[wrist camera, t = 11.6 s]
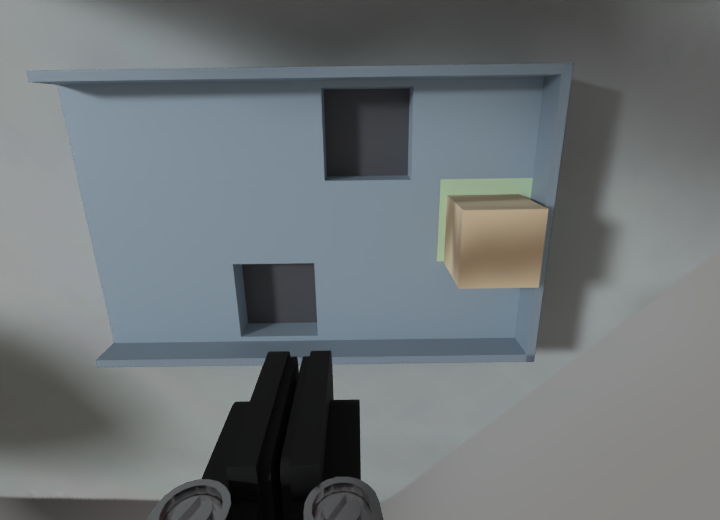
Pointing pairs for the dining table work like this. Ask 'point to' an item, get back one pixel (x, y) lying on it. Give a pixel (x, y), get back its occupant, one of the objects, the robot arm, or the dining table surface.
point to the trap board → (306, 206)
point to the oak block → (494, 241)
